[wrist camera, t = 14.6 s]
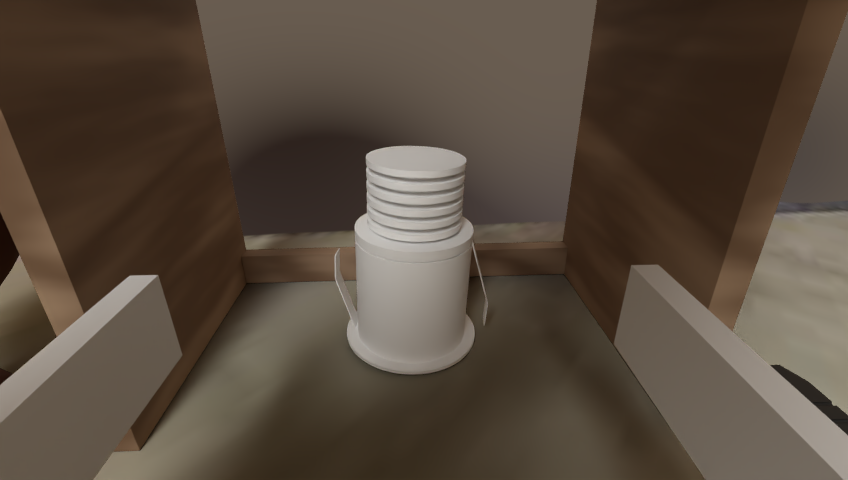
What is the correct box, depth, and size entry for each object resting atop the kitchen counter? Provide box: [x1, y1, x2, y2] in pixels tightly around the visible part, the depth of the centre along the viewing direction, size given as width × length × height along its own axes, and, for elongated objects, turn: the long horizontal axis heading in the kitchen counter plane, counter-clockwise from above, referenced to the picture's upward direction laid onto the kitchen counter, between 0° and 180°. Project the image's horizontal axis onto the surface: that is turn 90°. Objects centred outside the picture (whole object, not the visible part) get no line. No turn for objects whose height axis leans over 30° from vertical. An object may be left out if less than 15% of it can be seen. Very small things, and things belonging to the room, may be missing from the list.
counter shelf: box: [0, 0, 848, 452], centre depth 19 cm, size 24×14×22 cm, turn 93°
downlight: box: [335, 146, 488, 374], centre depth 22 cm, size 8×7×10 cm
